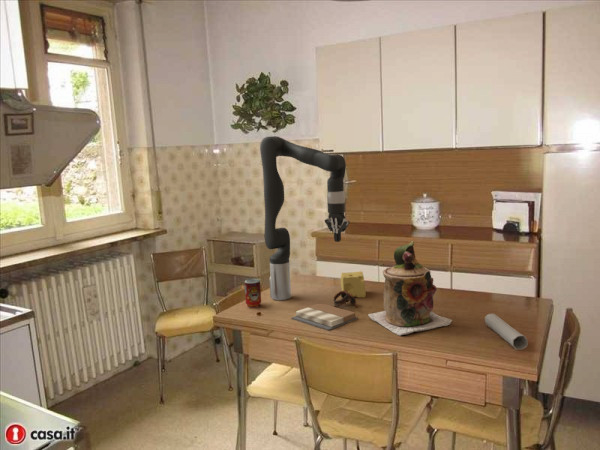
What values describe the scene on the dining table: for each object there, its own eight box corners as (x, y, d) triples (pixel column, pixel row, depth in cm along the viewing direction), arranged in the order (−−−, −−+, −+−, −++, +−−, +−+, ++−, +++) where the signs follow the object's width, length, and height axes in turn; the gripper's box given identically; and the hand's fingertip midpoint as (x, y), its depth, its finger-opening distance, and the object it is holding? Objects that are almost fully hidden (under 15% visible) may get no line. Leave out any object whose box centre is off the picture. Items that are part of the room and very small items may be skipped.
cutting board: (291, 318, 207) (291, 312, 207) (320, 308, 219) (319, 302, 218) (328, 330, 192) (328, 324, 192) (357, 318, 204) (357, 312, 203)
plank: (296, 315, 208) (296, 311, 208) (308, 311, 213) (307, 307, 213) (331, 326, 194) (331, 321, 193) (343, 322, 198) (343, 317, 198)
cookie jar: (365, 318, 204) (363, 241, 199) (415, 307, 214) (414, 234, 209) (400, 338, 182) (399, 252, 177) (454, 325, 191) (454, 243, 186)
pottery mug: (359, 310, 214) (350, 296, 212) (340, 320, 217) (331, 306, 214) (357, 295, 225) (348, 282, 223) (338, 304, 228) (330, 291, 225)
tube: (480, 314, 191) (510, 338, 166) (493, 309, 191) (525, 332, 166) (484, 326, 192) (515, 352, 167) (497, 321, 192) (530, 347, 167)
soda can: (249, 309, 222) (247, 282, 220) (243, 305, 228) (242, 279, 227) (263, 306, 225) (262, 280, 223) (258, 302, 231) (256, 276, 230)
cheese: (365, 297, 231) (365, 276, 229) (342, 298, 231) (341, 277, 229) (363, 291, 241) (362, 270, 239) (340, 292, 241) (340, 271, 240)
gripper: (318, 201, 216) (320, 241, 218) (341, 203, 206) (343, 244, 209) (330, 200, 221) (332, 238, 224) (353, 201, 211) (354, 241, 214)
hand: (337, 241), depth 216 cm, fingers closed
